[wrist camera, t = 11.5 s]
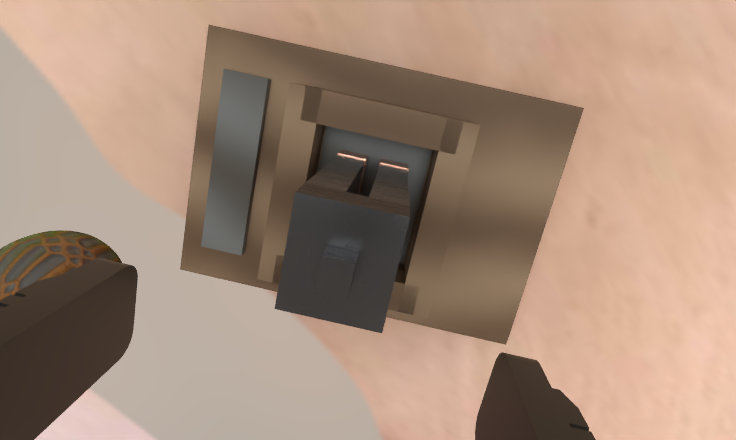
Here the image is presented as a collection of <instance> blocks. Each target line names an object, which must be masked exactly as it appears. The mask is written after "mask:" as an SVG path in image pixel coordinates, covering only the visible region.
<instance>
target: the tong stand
mask: <svg viewBox="0 0 736 440" xmlns="http://www.w3.org/2000/svg"><path fill="white" fill-rule="evenodd" d="M583 109H584V108H581V107H576V106H572V105H567V104H563V103H558V102H554V101H549V100H545V99H540V98H536V97H531V96H527V95H522V94H518V93H513V92H509V91H504V90H500V89H495V88H491V87H486V86H482V85H477V84H473V83H468V82H464V81H459V80H455V79H450V78H446V77H441V76H437V75H432V74H428V73H423V72H419V71H414V70H410V69H405V68H401V67H396V66H392V65H387V64H383V63H378V62H374V61H369V60H365V59H360V58H356V57H351V56H347V55H342V54H338V53H333V52H329V51H324V50H320V49H315V48H311V47H306V46H302V45H297V44H293V43H288V42H284V41H279V40H275V39H270V38H266V37H261V36H257V35H252V34H248V33H243V32H239V31H234V30H230V29H225V28H221V27H216V26H212V25H209V27H208V36H207V45H206V53H205V62H204V70H203V79H202V87H201V96H200V105H199V113H198V122H197V130H196V139H195V148H194V156H193V165H192V173H191V182H190V190H189V199H188V208H187V216H186V225H185V233H184V243H183V251H182V259H181V268H180V269H181V270H186V271H190V272H194V273H199V274H203V275H207V276H212V277H216V278H221V279H224V280H229V281H233V282H238V283H242V284H246V285H251V286H255V287H259V288H263V289H268V290H272V291H276V292H278V287H279V282H280V276H281V270H282V264H283V259H284V253H285V247H286V241H287V236H288V230H289V224H290V218H291V213H292V207H293V201H294V195H295V191H297V190H298V189H299V188H300V187H301V186H302V185H304V184H305V183H306V182H307V181H308V180H309V179H310V178H312V177H313V176H314V175H315V174H316V173H317V172H319V171H320V170H321V169H322V168H323V167H324V166H326V165H327V164H328V163H329V162H330V161H331V160H332V159H334V158H335V157H336V156H337V155H338V152H340V151H341V150H345V151H350V152H354V153H359V154H363V155H368V156H369V157H368V161H367V166H366V171H365V176H364V180H363V185H362V190H361V194H360V195H363V196H367V197H369V195H370V193H371V190H372V187H373V184H374V181H375V178H376V175H377V172H378V169H379V164H380V161H381V158H382V159H386V160H391V161H395V162H400V163H404V164H408V167H409V169H408V189H409V206H410V220H409V224H408V228H407V232H406V237H405V241H404V245H403V249H402V253H401V257H400V261H399V265H398V269H397V273H396V278H395V282H394V286H393V290H392V294H391V298H390V302H389V306H388V310H387V314H386V317H389V318H393V319H397V320H402V321H406V322H410V323H415V324H419V325H423V326H428V327H432V328H436V329H441V330H445V331H449V332H454V333H458V334H462V335H467V336H471V337H475V338H480V339H484V340H488V341H493V342H497V343H501V344H506V343H507V340H508V337H509V334H510V331H511V328H512V325H513V322H514V319H515V316H516V313H517V310H518V307H519V304H520V300H521V297H522V294H523V291H524V288H525V285H526V282H527V279H528V276H529V273H530V270H531V267H532V264H533V261H534V258H535V255H536V252H537V249H538V246H539V243H540V240H541V237H542V233H543V230H544V227H545V224H546V221H547V218H548V215H549V212H550V209H551V206H552V203H553V200H554V197H555V194H556V191H557V188H558V185H559V182H560V179H561V176H562V173H563V170H564V167H565V163H566V160H567V157H568V154H569V151H570V148H571V145H572V142H573V139H574V136H575V133H576V130H577V127H578V124H579V121H580V118H581V115H582V112H583Z"/></svg>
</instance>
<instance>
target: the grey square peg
mask: <svg viewBox="0 0 736 440" xmlns="http://www.w3.org/2000/svg"><path fill="white" fill-rule="evenodd" d="M368 157H369V156H368V155H363V154H359V153H354V152H350V151H345V150H341V151H340V152H338V155H337V156H336V157H335V158H334V159H332V160H331V161H330V162H329V163H328V164H327V165H326V166H324V167H323V168H322V169H321V170H320V171H319V172H317V173H316V174H315V175H314V176H313V177H312V178H310V179H309V180H308V181H307V182H306V183H305V184H304V185H302V186H301V187H300V188H299V189H298V190H297V191H295V195H294V201H293V207H292V213H291V218H290V224H289V230H288V236H287V241H286V247H285V253H284V259H283V264H282V270H281V276H280V282H279V287H278V293H277V299H276V305H275V309H278V310H283V311H287V312H291V313H296V314H300V315H304V316H309V317H313V318H318V319H322V320H326V321H331V322H335V323H340V324H344V325H348V326H353V327H357V328H361V329H366V330H370V331H375V332H379V333H382V331H383V327H384V323H385V319H386V314H387V310H388V306H389V302H390V298H391V294H392V290H393V286H394V282H395V278H396V273H397V269H398V265H399V261H400V257H401V253H402V249H403V245H404V241H405V237H406V232H407V228H408V224H409V220H410V206H409V189H408V169H409V167H408V164H404V163H400V162H395V161H391V160H386V159H382V158H381V161H380V164H379V169H378V172H377V175H376V178H375V181H374V184H373V187H372V190H371V193H370V195H369V197H367V196H363V195H360V194H361V190H362V185H363V180H364V176H365V171H366V166H367V161H368Z"/></svg>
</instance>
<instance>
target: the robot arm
mask: <svg viewBox="0 0 736 440" xmlns="http://www.w3.org/2000/svg"><path fill="white" fill-rule="evenodd" d="M137 277H138V276H137V270H136V268H135V267H134V266H132V265H127V264H123V263H119V262H115V261H110V260H106V259H102V258H96V259H93V260H91V261H90V262H88V263H86V264H84V265H82V266H80V267H78V268H77V269H75V270H73V271H71V272H69V273H67V274H62V275H59V276H55V277H51V278H47V279H43V280H39V281H36V282H34V283H33V284H31V285H29V286H27V287H25V288H23V289H21V290H19V291H17V292H15V295H9V296H7V297H5V298H3V299H1V300H0V440H34V439H35V438H36V437H37V436H38V435H39V434H41V433H42V432H43V431H44V430H45V429H46V428H47V427H48V426H49V425H50V424H51V423H52V422H53V421H54V420H55V419H57V418H58V417H59V416H60V415H61V414H62V413H63V412H64V411H65V410H66V409H67V408H68V407H69V406H70V405H71V404H73V403H74V402H75V401H76V400H77V399H78V398H79V397H80V396H81V395H82V394H83V393H84V392H85V391H86V390H87V389H89V388H90V387H91V386H92V385H93V384H94V383H95V382H96V381H97V380H98V379H99V378H100V377H101V376H102V375H103V374H104V373H106V372H107V371H108V370H109V369H110V368H111V367H112V366H113V365H114V364H115V363H116V362H117V361H118V360H119V359H120V358H121V357H122V356H123V354H124V353H125V351H126V349H127V348H128V346H129V343H130V341H131V338H132V333H133V325H134V315H135V302H136V290H137ZM475 440H595V438H594V436H593V434H592V432H589V427H588V425H587V423H586V421H585V420H584V418H583V416H582V414H581V412H580V410H579V409H578V408H577V407H576V406H575V405H574V404H573V403H572V402H571V401H570V400H569V399H568V398H567V397H566V396H565V395H564V394H563V393H562V392H561V391H560V390H558V389H554V388H551V386H550V384H549V382H548V380H547V378H546V376H545V374H544V372H543V369H542V367H541V365H540V364H539V362H538V361H537V360H533V359H528V358H524V357H520V356H516V355H511V354H507V353H500V354H499V355H498V357H497V359H496V361H495V364H494V367H493V370H492V373H491V376H490V379H489V382H488V385H487V388H486V391H485V394H484V397H483V400H482V403H481V406H480V409H479V412H478V416H477V421H476V430H475Z"/></svg>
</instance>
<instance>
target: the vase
mask: <svg viewBox="0 0 736 440" xmlns="http://www.w3.org/2000/svg"><path fill="white" fill-rule="evenodd" d="M96 258H102V259H106V260H110V261H115V262H119V263H122V262H121V260H120V258H119V257H118V255H117V254H116V253H115V252H114V251H113V250H112V249H111V248H110V247H109V246H107V245H106V244H105V243H104V242H102V241H101V240H99V239H97V238H95V237H93V236H91V235H88V234H84V233H80V232H74V231H48V232H42V233H38V234H34V235H30V236H27V237H24V238H21V239H19V240H16V241H14V242H12V243H10V244H8V245H6V246H4V247H3V248H1V249H0V300H1V299H3V298H5V297H7V296H9V295H15V292H17V291H19V290H21V289H23V288H25V287H27V286H29V285H31V284H33V283H34V282H36V281H39V280H43V279H47V278H51V277H55V276H59V275H62V274H67V273H69V272H71V271H73V270H75V269H77V268H78V267H80V266H82V265H84V264H86V263H88V262H90V261H91V260H93V259H96Z"/></svg>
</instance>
